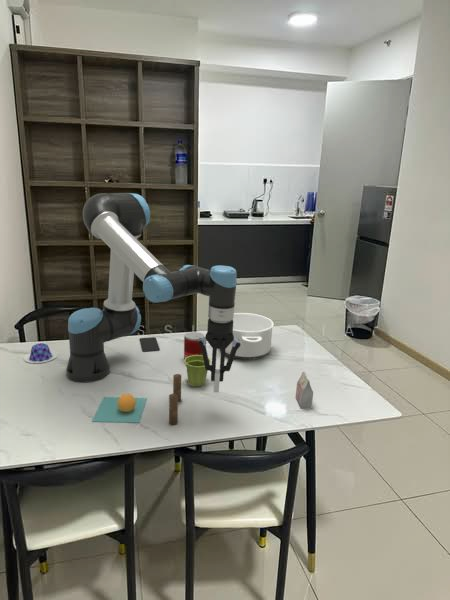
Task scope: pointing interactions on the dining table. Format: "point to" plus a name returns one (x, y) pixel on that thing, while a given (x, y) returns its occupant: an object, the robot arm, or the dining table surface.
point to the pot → (251, 335)
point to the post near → (173, 409)
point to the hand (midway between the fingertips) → (216, 389)
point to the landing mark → (118, 411)
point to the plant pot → (196, 370)
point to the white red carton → (304, 392)
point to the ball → (126, 403)
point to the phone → (149, 344)
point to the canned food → (192, 344)
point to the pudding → (40, 353)
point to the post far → (177, 386)
